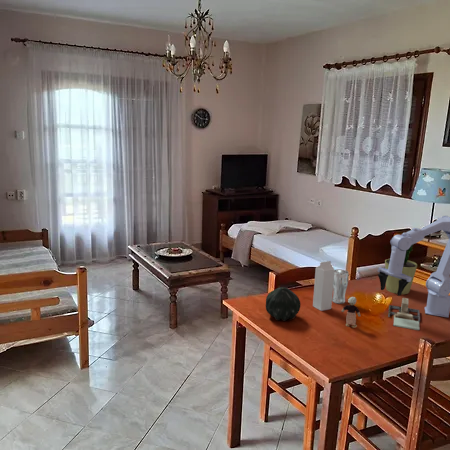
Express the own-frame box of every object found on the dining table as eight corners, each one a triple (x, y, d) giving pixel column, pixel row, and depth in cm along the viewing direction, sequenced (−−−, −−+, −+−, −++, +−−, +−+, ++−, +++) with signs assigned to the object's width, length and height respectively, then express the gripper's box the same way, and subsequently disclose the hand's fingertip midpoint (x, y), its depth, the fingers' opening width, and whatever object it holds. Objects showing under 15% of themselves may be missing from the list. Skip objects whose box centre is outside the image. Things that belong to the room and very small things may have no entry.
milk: (312, 306, 202) (315, 260, 198) (323, 304, 205) (326, 259, 200) (321, 311, 197) (324, 264, 192) (331, 309, 200) (335, 262, 195)
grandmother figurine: (359, 325, 184) (362, 296, 181) (359, 328, 180) (362, 300, 178) (340, 322, 186) (343, 294, 183) (339, 325, 183) (342, 297, 180)
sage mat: (418, 322, 188) (418, 321, 188) (419, 330, 181) (419, 329, 180) (393, 318, 191) (394, 317, 191) (393, 325, 184) (393, 324, 184)
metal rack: (418, 312, 199) (419, 309, 199) (419, 322, 188) (420, 319, 188) (389, 307, 203) (389, 304, 203) (388, 317, 193) (388, 314, 192)
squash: (287, 295, 200) (273, 275, 192) (311, 307, 188) (297, 287, 180) (268, 319, 196) (252, 300, 188) (291, 333, 185) (276, 314, 176)
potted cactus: (388, 295, 218) (395, 237, 212) (377, 284, 233) (383, 229, 227) (419, 296, 218) (426, 238, 212) (406, 285, 233) (413, 230, 227)
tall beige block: (406, 311, 200) (408, 298, 199) (406, 316, 194) (408, 304, 192) (400, 310, 201) (402, 297, 200) (400, 315, 195) (402, 303, 193)
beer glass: (346, 304, 205) (349, 274, 202) (331, 303, 206) (333, 273, 203) (345, 299, 211) (348, 269, 208) (330, 297, 213) (333, 268, 210)
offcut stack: (413, 319, 192) (413, 314, 192) (413, 322, 189) (414, 316, 189) (393, 316, 195) (394, 311, 194) (394, 319, 192) (394, 313, 191)
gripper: (376, 258, 191) (370, 288, 194) (408, 268, 181) (402, 299, 184) (384, 257, 196) (378, 286, 199) (416, 266, 186) (409, 296, 188)
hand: (390, 292), depth 191 cm, fingers open, 7 cm apart
